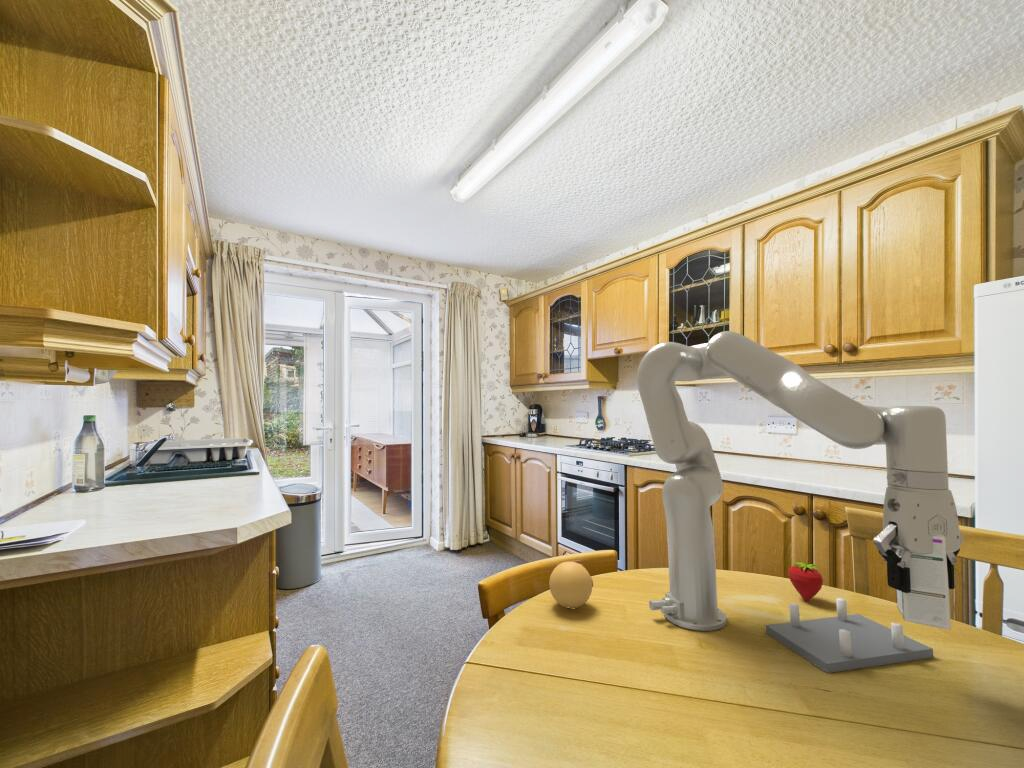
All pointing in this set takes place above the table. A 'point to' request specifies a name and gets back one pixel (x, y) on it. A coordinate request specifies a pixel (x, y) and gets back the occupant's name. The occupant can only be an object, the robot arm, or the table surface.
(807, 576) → the strawberry
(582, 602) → the stress ball
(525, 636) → the table surface
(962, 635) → the table surface
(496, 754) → the table surface
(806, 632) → the plate
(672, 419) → the robot arm
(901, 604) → the syrup box
